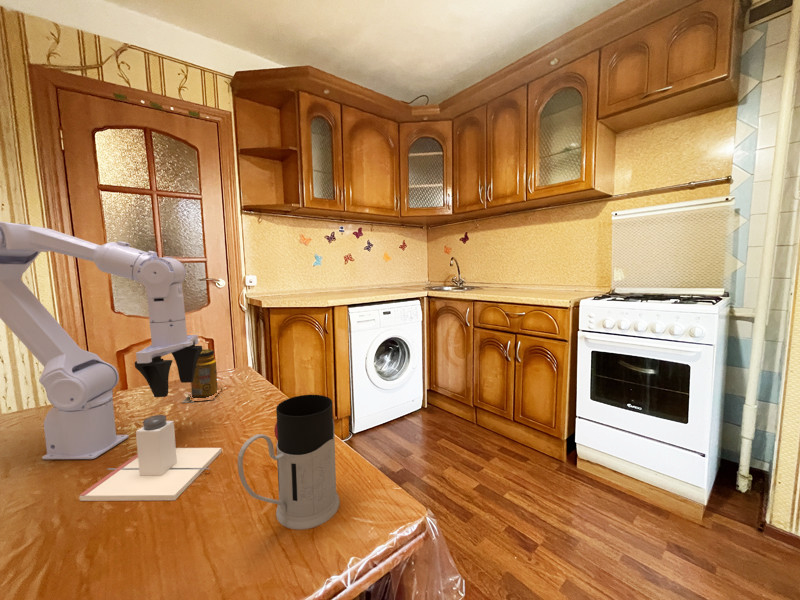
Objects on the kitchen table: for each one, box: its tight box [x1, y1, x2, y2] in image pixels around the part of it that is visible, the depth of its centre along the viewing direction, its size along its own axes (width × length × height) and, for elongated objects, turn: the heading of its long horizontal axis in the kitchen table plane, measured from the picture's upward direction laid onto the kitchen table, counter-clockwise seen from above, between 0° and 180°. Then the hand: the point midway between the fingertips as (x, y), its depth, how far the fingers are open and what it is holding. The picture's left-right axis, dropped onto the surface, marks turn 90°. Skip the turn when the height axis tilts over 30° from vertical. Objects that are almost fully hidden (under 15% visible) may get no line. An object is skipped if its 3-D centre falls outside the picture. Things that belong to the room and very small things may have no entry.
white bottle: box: [135, 414, 177, 475], centre depth 55 cm, size 4×4×9 cm
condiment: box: [182, 348, 219, 404], centre depth 89 cm, size 7×8×12 cm
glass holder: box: [237, 394, 341, 531], centre depth 45 cm, size 9×14×15 cm, turn 146°
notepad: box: [78, 447, 223, 502], centre depth 56 cm, size 17×13×1 cm
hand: (174, 388), depth 66 cm, fingers open, 7 cm apart
